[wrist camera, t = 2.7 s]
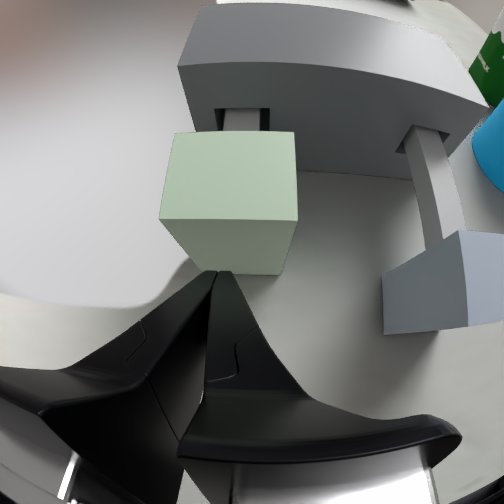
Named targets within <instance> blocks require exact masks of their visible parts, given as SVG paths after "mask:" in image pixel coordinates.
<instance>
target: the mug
mask: <svg viewBox="0 0 504 504" xmlns="http://www.w3.org/2000/svg"><path fill="white" fill-rule="evenodd" d="M472 146H473V151H474V154H475V157H476V159H477V161H478V163H479V165H480V167H481V168H482V170H483V172H484V173H485V175H486V176H487V177H488V178H489V180H490V181H491V182H492V183H493V184H494V185H495V186H496V187H497V188H498V189H499V190H500V191H502V192H504V98H503V100H502V101H501V102H500V104H499V105H498V106H497V107H496V109H495V110H494V111H493V112H492V114H491V115H490V116H489V117H488V119H487V120H486V121H485V122H484V124H483V125H482V126H481V127H480V128H479V130H478V131H477V132H476V133H475V135H474V136H473V138H472Z"/></svg>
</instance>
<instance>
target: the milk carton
mask: <svg viewBox="0 0 504 504" xmlns="http://www.w3.org/2000/svg"><path fill="white" fill-rule="evenodd" d="M469 72H470V75H471V77H472V79H473V81H474V82H475V84H476V86H477V87H478V89H479V91H480V92H481V94H482V96H483V97H484V99H485V101H486V102H488V103H490V104H491V105H493V106H494V107H497V106H498V105H499V104H500V102H501V101H502V100H503V98H504V6H503V9H502V11H501V13H500V15H499V17H498V19H497V21H496V23H495V25H494V26H493V28H492V30H491V32H490V34H489V36H488V38H487V40H486V41H485V43H484V45H483V47H482V48H481V50H480V52H479V54H478V55H477V57H476V59H475V60H474V62H473V64H472V65H471V67H470V68H469Z"/></svg>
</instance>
